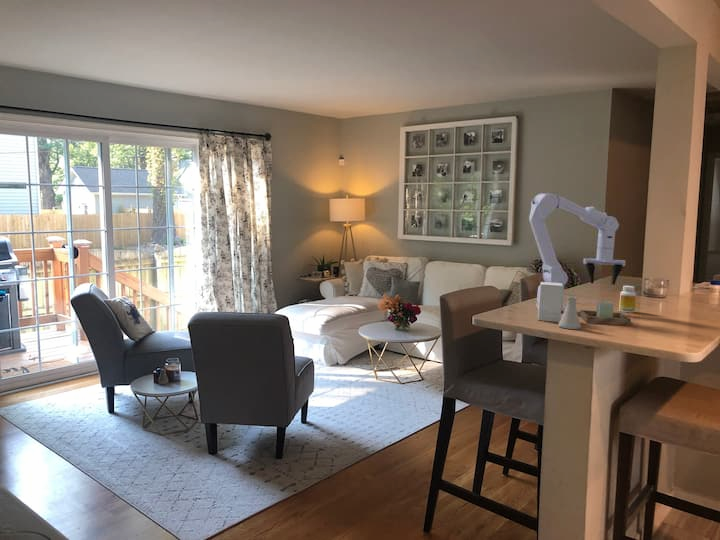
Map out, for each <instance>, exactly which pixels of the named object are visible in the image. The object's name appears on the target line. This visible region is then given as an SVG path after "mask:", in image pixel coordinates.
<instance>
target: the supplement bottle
mask: <svg viewBox="0 0 720 540" xmlns="http://www.w3.org/2000/svg"><path fill="white" fill-rule="evenodd" d="M635 288H636V287H635V286H632V285H623V286H622V291H620V294H619V303H618V304H619V306H618V312H620V313H627V312H628V313H635V309H636V298H637V297H636V295H637V293H636V292H635Z"/></svg>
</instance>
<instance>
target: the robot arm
mask: <svg viewBox="0 0 720 540" xmlns="http://www.w3.org/2000/svg"><path fill="white" fill-rule="evenodd" d="M530 205H531V206H530V207H531V208H530V211H529V215H528V221H529V224H530V227H531V228H530V229H531V230H532V233H533V236H534V239H535V243H536V246H537V250H538V252H539V255H540V258H541V260H542V267H541V268H542V279H543V282H550V283H562V285H563V293H562V305H561V312H563V313H564V311H565V308H564V296H565V295H564V294H565V285H566V284H567V281H568V274H567V273H566V272H565V271H564V269H563V267H562V265H561V264H560V262H559V260H558V259H557V255H556V252H555V249H554V246H553V243H552V240H551V237H550V233H549V231H548V227H547V225H546V222H545V221H546V219H547V218H548V216H549V215H550V214H551V213H552V212H553V211H555V209H562V210H565V211H567V212H570V213H572V214H574V215H577V216H579V218H580V220H581V221H582V222H584V223H587V224H588V225H591V226H593V227H595V228H597V230H598V234H597V244H596V245H597V247H596V258H586V257H585V258H583V265H585V267H586V269H587V272H588V277H589V283H590V284H594V280H595V279H594V277H595V268H596V266H595V265H604V266H611V267H612V272H611V273H612V275H611V276H612V277H611V285H612V286H613V285H614V286H615V285H616V282H617V278H618V277H619V275H620V273H621V272H622V270H623V267H626V260H624V259H614V250H615V249H614V248H615V238H616V231H617V230H618V229H619V226H620V224H619V222H618V221H619V220H617V218H616V217H614V216H612V215H611V216H610V215H608V213H607V212H602V211H600V210H597V207H596V206H586V207H582V206H581V205H580V204H577V203H575V202H573V201H571V200H569V199H567V198H565V197H562V196H561V195H557V194H554V193H553V192H552V193H551V192H549V193H538V194H537V195H535V197H534V198H533V199H532V201H531V202H530ZM539 294H540V285H538V287H537V295H536V306H535V307H536V308H537V309H538V307H539Z"/></svg>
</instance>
